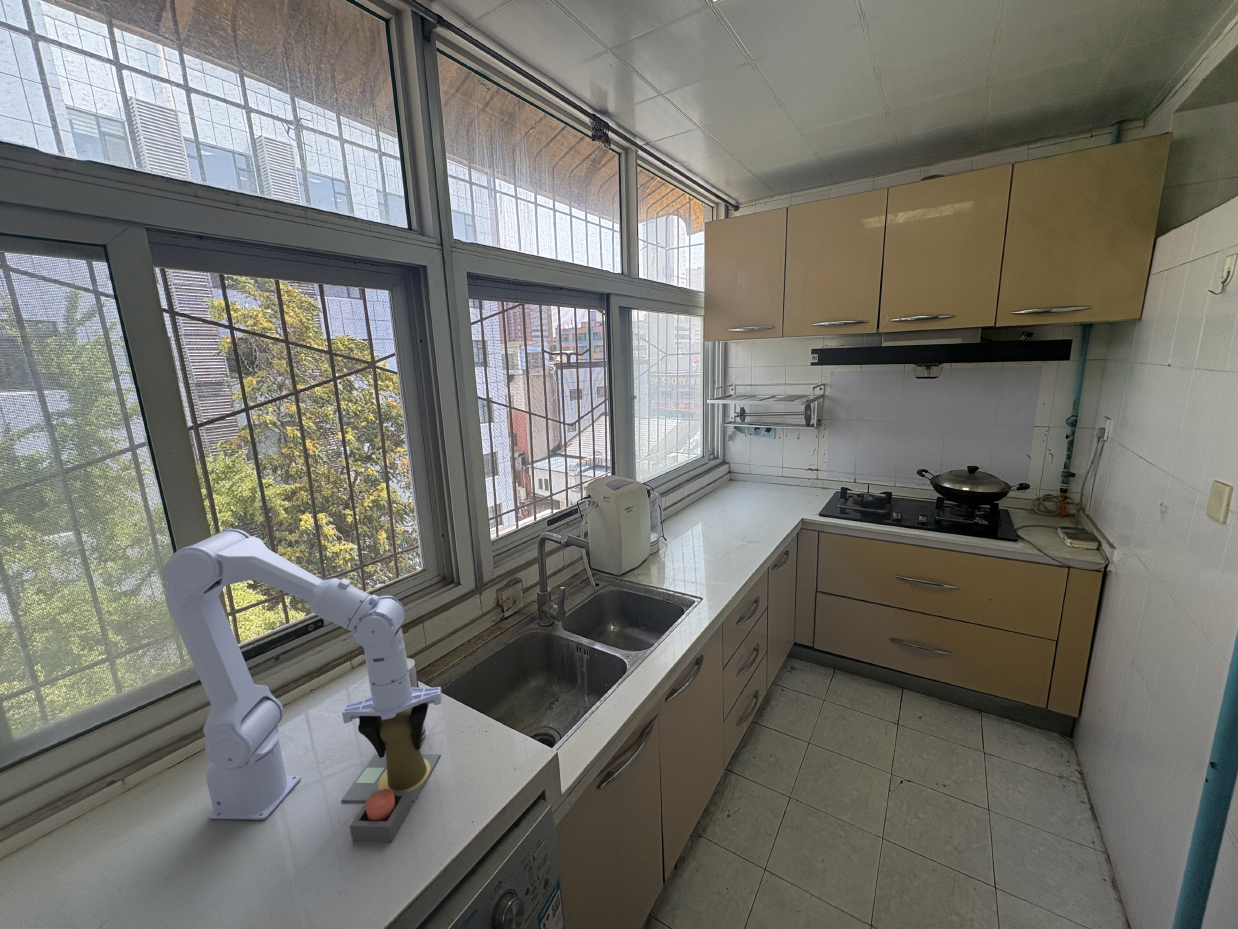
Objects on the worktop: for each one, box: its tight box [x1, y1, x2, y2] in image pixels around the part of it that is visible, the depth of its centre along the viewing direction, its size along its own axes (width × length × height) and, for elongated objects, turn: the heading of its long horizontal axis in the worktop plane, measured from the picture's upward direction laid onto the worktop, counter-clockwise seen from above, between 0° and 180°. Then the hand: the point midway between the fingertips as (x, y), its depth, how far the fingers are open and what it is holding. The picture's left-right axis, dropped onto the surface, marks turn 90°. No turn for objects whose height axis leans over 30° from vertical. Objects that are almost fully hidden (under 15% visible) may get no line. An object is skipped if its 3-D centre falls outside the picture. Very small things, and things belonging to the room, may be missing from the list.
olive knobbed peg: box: [379, 710, 427, 791], centre depth 80 cm, size 6×6×11 cm
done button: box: [365, 789, 396, 821], centre depth 72 cm, size 4×4×2 cm
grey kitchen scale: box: [340, 753, 441, 804], centre depth 81 cm, size 12×10×1 cm
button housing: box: [349, 791, 413, 843], centre depth 73 cm, size 6×6×3 cm
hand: (400, 749), depth 80 cm, fingers closed on olive knobbed peg, 5 cm apart
